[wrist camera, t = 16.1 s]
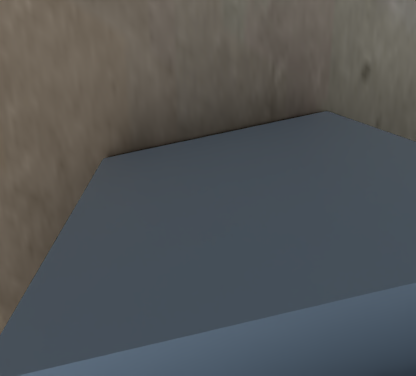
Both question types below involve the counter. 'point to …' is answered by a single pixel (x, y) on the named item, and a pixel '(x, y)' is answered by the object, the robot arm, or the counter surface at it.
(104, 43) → the counter surface
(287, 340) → the slate blue square block
